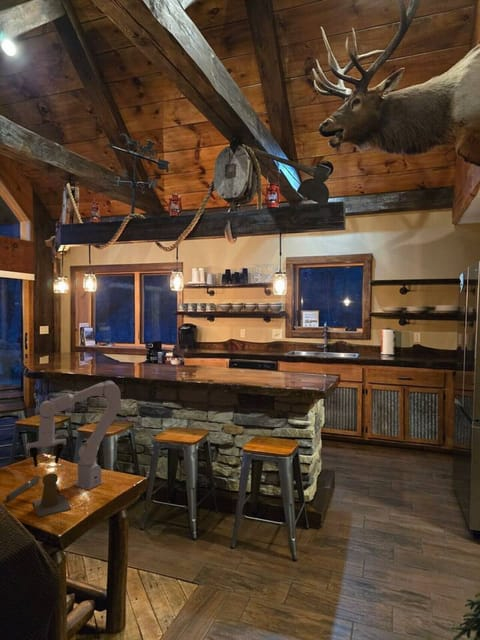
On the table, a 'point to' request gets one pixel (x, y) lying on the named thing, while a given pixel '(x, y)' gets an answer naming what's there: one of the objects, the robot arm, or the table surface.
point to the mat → (60, 507)
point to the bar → (22, 488)
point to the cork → (49, 491)
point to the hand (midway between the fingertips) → (46, 464)
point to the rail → (57, 490)
